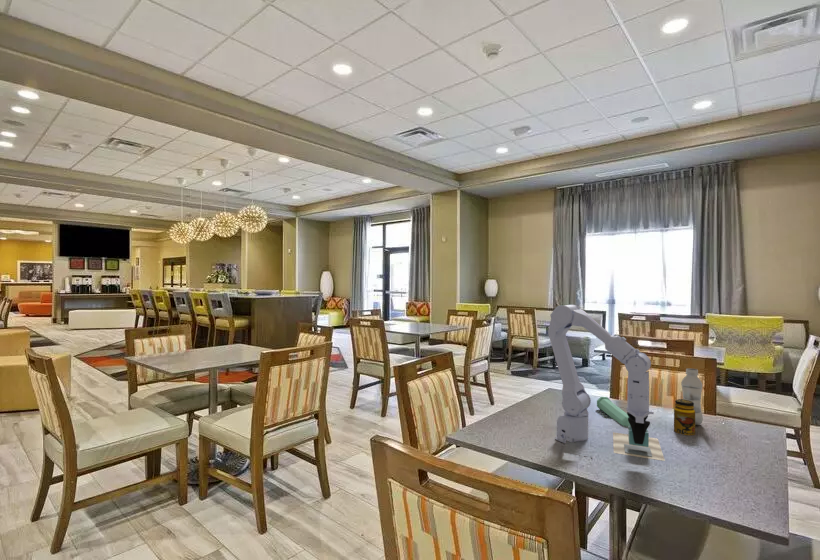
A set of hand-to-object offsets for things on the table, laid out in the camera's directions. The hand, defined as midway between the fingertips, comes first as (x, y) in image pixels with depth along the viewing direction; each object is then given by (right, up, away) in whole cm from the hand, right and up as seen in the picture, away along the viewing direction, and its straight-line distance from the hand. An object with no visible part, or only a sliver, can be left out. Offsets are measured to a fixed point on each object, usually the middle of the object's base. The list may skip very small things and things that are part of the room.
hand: (637, 440), depth 128 cm
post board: (+2, -5, +4) cm, 7 cm away
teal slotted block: (0, -1, 0) cm, 1 cm away
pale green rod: (+10, -5, +34) cm, 36 cm away
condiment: (+24, -5, +17) cm, 30 cm away
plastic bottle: (+35, -5, +29) cm, 46 cm away
